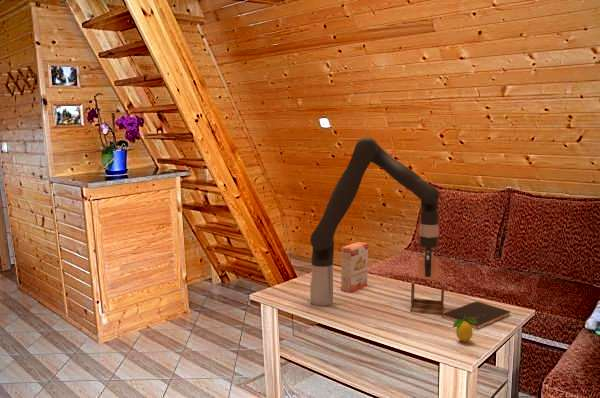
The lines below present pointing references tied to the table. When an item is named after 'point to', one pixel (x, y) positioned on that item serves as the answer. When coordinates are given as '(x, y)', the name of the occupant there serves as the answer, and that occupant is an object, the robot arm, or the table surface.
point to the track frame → (427, 303)
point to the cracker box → (354, 266)
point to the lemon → (464, 328)
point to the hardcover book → (476, 313)
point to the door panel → (433, 269)
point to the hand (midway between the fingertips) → (428, 275)
